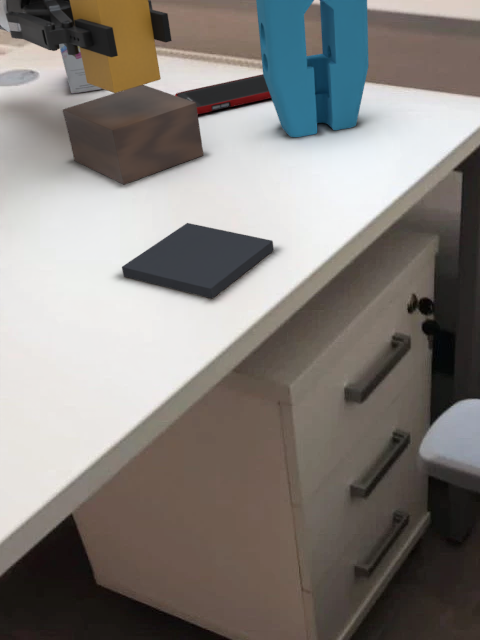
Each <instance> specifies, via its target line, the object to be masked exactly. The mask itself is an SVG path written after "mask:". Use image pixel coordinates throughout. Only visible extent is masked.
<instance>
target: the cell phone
mask: <svg viewBox="0 0 480 640" xmlns="http://www.w3.org/2000/svg"><path fill="white" fill-rule="evenodd" d="M174 96H177V97H180V98H183V99H186V100H189V101H192V102H195V103H196V106H197V113H198V115H200V114H206V113H211V112H215V111H217V110H218V111H219V110H223V109H228V108H232V107H237V106H242V105H247V104H250V103H255V102H259V101H264V100H268V99H272V98H271V95H270V92H269V90H268V87H267V84H266V81H265V78H264V75H263V73H262V74H257V75H251V76H249V77H244V78H240V79H239V78H238V79H235V80H229V81H225V82H221V83H216V84H212V85H211V84H210V85H207V86H202V87H198V88H197V87H196V88H192V89H188V90H184V91H180V92H177V93H175V94H174Z"/></svg>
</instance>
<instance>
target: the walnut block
mask: <svg viewBox="0 0 480 640" xmlns="http://www.w3.org/2000/svg"><path fill="white" fill-rule="evenodd" d="M61 110H62V114H63V118H64V122H65V127H66V131H67V135H68V139H69V144H70V147H71V152H72V156H73V160H74V162H76V163H77V164H80V165H82V166H85V167H86V168H89V169H91V170H93V171H95V172H97V173H99V174H101V175H103V176H105V177H107V178H110V179H112V180H113V181H115V182H117V183H119V184H122V185H126V184H129V183H132V182H135V181H137V180H139V179H140V180H141V179H142V178H146V177H149V176H151V175H153V174H157V173H160V172H161V171H164V170H167V169H169V168H173V167H175V166H178V165H181V164H183V163H186V162H189V161H192V160H195V159H197V158H200V157H204V149H203V143H202V142H203V141H202V136H201V129H200V121H199V114H198V113H197V106H196V103H195V102H192V101H189V100H186V99H183V98H180V97H177V96H175V94H171V93H168V92H166V91H164V90H163V91H162V90H160V89H157V88H154V87H152V86H148V85H146V84H144V85H141V86H137V87H134V88H130V89H127V90H124V91H120V92H117V93H111V94H108V95H104V96H102V97H98V98H94V99H92V100H91V99H90V100H89V101H88V100H87V101H85V102H82V103H78V104H75V105H72V106H69V107H65V108H63V109H61Z"/></svg>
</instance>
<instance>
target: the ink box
mask: <svg viewBox="0 0 480 640" xmlns="http://www.w3.org/2000/svg"><path fill="white" fill-rule="evenodd" d="M59 46H60V49H59V51H60V54H61V58H62V62H63V66H64V69H65V74H66V77H67V82H68V86H69V90H70V91H69V92H70V94H80V93H84V92H91V91H97V90H98V91H99V90H103V89H102V88H100V87H97V86H94V85H91V84H89V83H87V80H86V75H85V71H84V66H83V61H82V56H81V52H80V47H79V46H78V50H79V54H76V55H68V52H67V47H66V46H65V45H64V44H59Z"/></svg>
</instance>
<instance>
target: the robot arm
mask: <svg viewBox="0 0 480 640" xmlns="http://www.w3.org/2000/svg"><path fill="white" fill-rule="evenodd" d="M148 3H149V9H150V16H151V22H152V28H153V34H154V40H156V41H159V42H163V43H170V42H172V35H171V28H170V27H171V26H170V21H169V13H167V12H164V11H159V10H154V9H153V4H152V3H153V2H152V0H148ZM74 21H75V23H74ZM0 30H2V31H5V32H7V33H10V36H11V38H12V39H15V40H16V39H18V40H24V41H26V42H29V43H32V44H33V45H36V46H37V47H40V48H43V49H45V50H47V51H52V52H56V51H58V50H60V46H59V44H64V45H65V46H66V47H67V52H68V55H76V54H79V50H78V46H79V47H80V48H83V49H86V50H90V51H93V52H96V53H99V54H102V55H105V56H109V57H115V56H118V54H117V49H116V43H115V38H114V32H113V27H109V26H105V25H102V24H98V23H94V22H91V21H87V20H84V19H77V20H74V19H73V14H72V9H71V5H70V0H0Z"/></svg>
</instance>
